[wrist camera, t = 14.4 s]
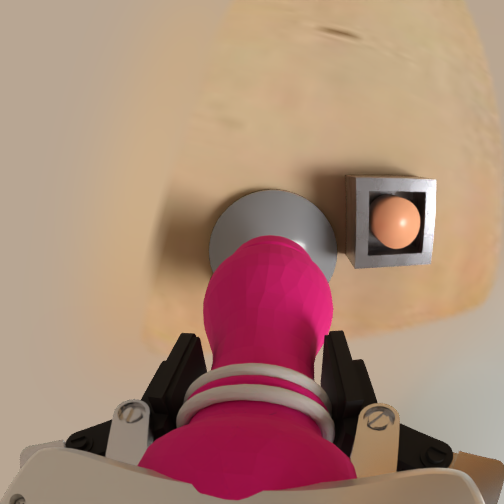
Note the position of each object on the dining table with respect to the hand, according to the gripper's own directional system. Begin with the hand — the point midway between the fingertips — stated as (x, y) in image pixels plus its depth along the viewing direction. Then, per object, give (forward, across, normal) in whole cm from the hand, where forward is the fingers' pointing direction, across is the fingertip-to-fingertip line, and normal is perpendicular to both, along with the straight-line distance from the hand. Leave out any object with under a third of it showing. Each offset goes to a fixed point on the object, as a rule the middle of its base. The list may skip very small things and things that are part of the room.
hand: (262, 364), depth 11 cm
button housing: (+15, -10, -3) cm, 18 cm away
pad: (+15, 0, 0) cm, 15 cm away
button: (+14, -10, -3) cm, 17 cm away
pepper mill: (+10, 0, 0) cm, 10 cm away
